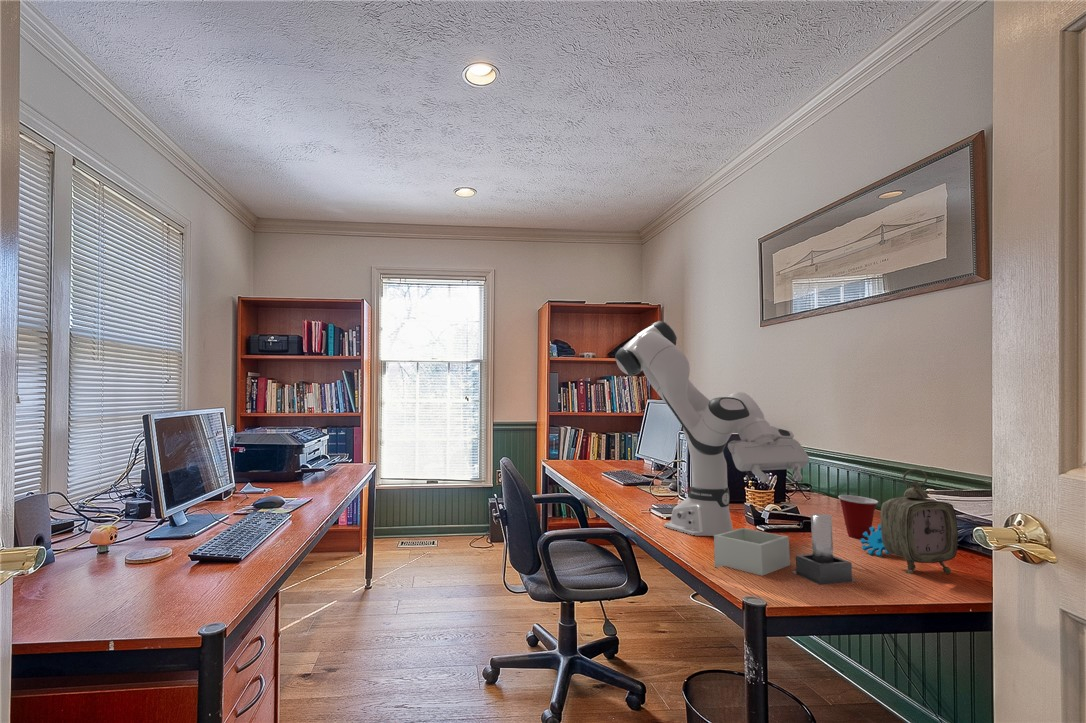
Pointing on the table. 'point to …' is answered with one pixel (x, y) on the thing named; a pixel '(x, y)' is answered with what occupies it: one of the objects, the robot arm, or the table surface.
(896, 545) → the tabletop clock
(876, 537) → the gear
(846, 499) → the plastic cup
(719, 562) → the bin
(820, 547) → the strut
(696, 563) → the table surface
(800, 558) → the socket block
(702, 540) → the table surface
